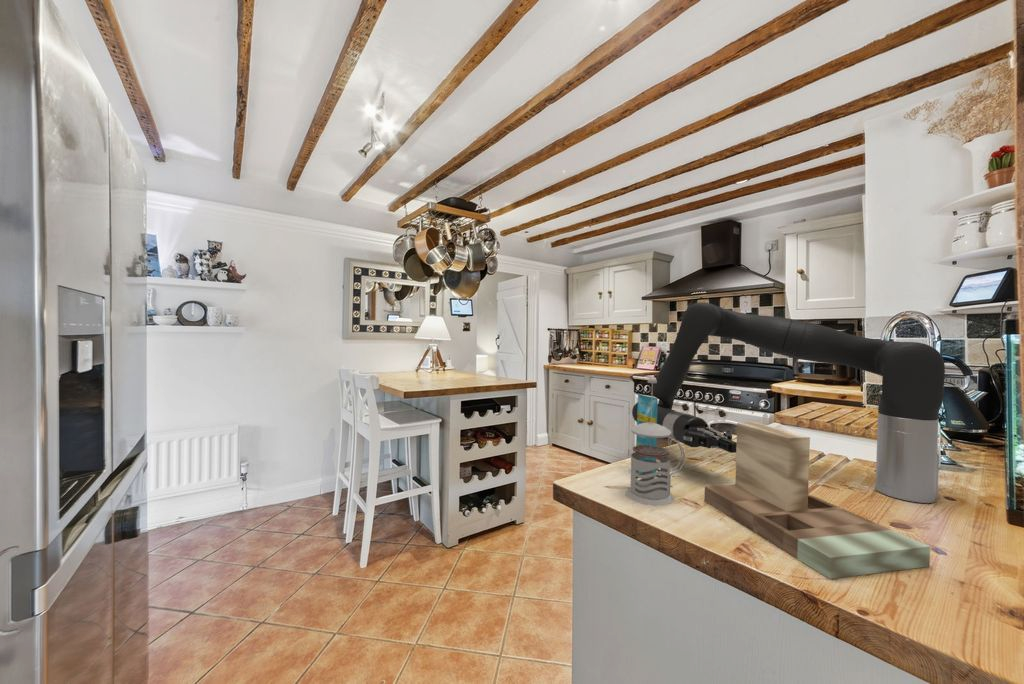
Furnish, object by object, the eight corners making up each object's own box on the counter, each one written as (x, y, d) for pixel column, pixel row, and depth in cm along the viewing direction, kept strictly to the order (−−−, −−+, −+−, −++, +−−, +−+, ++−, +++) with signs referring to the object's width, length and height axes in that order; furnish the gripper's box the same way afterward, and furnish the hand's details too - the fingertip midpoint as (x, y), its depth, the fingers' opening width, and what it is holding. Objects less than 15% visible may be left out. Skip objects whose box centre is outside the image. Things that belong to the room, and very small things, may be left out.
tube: (627, 470, 98) (629, 393, 97) (643, 468, 100) (644, 392, 99) (648, 480, 91) (651, 398, 91) (665, 478, 93) (667, 397, 93)
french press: (621, 485, 88) (624, 374, 88) (675, 488, 87) (678, 375, 86) (630, 504, 78) (632, 379, 78) (690, 507, 77) (694, 380, 77)
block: (754, 484, 82) (755, 422, 82) (807, 509, 70) (809, 437, 70) (735, 485, 81) (737, 422, 81) (786, 511, 69) (788, 438, 69)
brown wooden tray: (779, 495, 84) (779, 481, 84) (929, 566, 58) (930, 546, 58) (704, 500, 80) (704, 486, 80) (829, 578, 55) (830, 557, 55)
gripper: (662, 414, 100) (708, 431, 83) (708, 413, 102) (762, 430, 85) (661, 443, 100) (707, 466, 83) (707, 442, 102) (761, 464, 85)
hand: (735, 448), depth 84 cm, fingers closed
